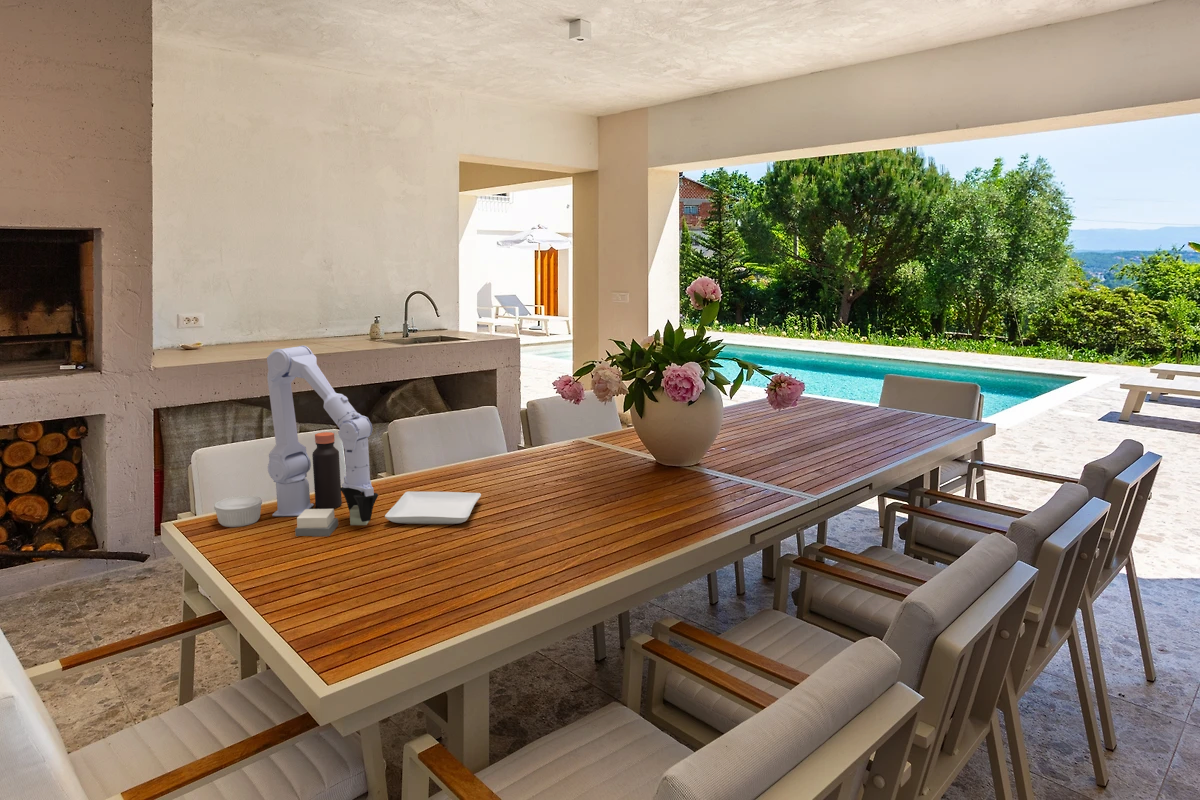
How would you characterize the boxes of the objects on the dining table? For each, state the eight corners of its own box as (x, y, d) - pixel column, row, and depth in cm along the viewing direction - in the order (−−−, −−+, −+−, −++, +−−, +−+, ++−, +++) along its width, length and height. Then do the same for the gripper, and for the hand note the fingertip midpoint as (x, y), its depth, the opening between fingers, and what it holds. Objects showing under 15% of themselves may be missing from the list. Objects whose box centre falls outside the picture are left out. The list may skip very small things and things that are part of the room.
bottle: (314, 504, 215) (309, 432, 211) (340, 501, 218) (336, 430, 214) (316, 511, 209) (312, 437, 205) (343, 507, 212) (339, 435, 208)
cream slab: (305, 518, 197) (305, 509, 196) (334, 518, 197) (333, 508, 197) (297, 528, 190) (296, 518, 189) (327, 527, 190) (326, 517, 190)
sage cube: (354, 520, 202) (353, 505, 201) (370, 520, 202) (369, 505, 201) (350, 525, 198) (349, 510, 197) (366, 525, 198) (365, 510, 197)
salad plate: (468, 529, 196) (467, 516, 196) (383, 528, 197) (383, 515, 196) (482, 503, 217) (482, 491, 216) (406, 502, 217) (405, 490, 217)
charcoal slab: (306, 527, 198) (305, 518, 197) (338, 527, 198) (337, 518, 197) (295, 538, 190) (294, 529, 189) (329, 538, 190) (328, 528, 190)
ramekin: (229, 532, 193) (227, 511, 192) (206, 522, 200) (205, 502, 199) (272, 520, 202) (270, 500, 201) (248, 512, 208) (247, 492, 207)
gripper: (331, 461, 201) (334, 512, 203) (352, 473, 189) (355, 527, 192) (358, 457, 205) (360, 507, 207) (380, 469, 194) (383, 521, 196)
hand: (360, 516), depth 200 cm, fingers open, 7 cm apart
